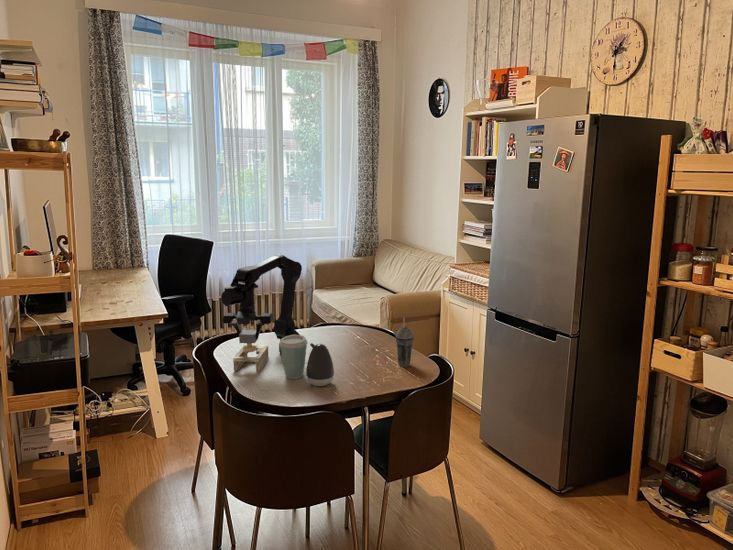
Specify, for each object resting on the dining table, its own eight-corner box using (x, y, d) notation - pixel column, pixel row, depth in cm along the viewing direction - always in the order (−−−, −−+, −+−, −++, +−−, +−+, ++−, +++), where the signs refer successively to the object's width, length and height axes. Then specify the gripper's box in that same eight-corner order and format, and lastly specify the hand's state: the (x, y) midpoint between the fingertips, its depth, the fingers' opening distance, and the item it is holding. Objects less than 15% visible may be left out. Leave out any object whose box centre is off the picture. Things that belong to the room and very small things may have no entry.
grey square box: (258, 347, 229) (258, 329, 227) (255, 352, 223) (254, 334, 222) (243, 347, 229) (243, 329, 228) (240, 352, 223) (239, 334, 222)
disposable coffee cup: (300, 382, 212) (299, 343, 209) (274, 378, 216) (273, 340, 213) (312, 373, 222) (312, 335, 219) (287, 369, 226) (287, 332, 223)
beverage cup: (415, 363, 233) (416, 315, 229) (409, 369, 227) (410, 320, 223) (399, 360, 236) (399, 313, 232) (392, 366, 230) (392, 317, 226)
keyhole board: (268, 358, 238) (268, 345, 237) (259, 372, 223) (258, 358, 222) (244, 357, 239) (244, 345, 238) (233, 371, 223) (233, 358, 222)
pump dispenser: (322, 376, 219) (321, 338, 216) (339, 384, 211) (339, 344, 208) (300, 383, 212) (299, 343, 209) (318, 391, 204) (317, 350, 202)
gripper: (216, 306, 215) (219, 345, 218) (266, 306, 214) (268, 346, 217) (225, 298, 225) (227, 336, 229) (272, 298, 225) (274, 337, 228)
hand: (249, 339), depth 225 cm, fingers closed on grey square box, 6 cm apart
